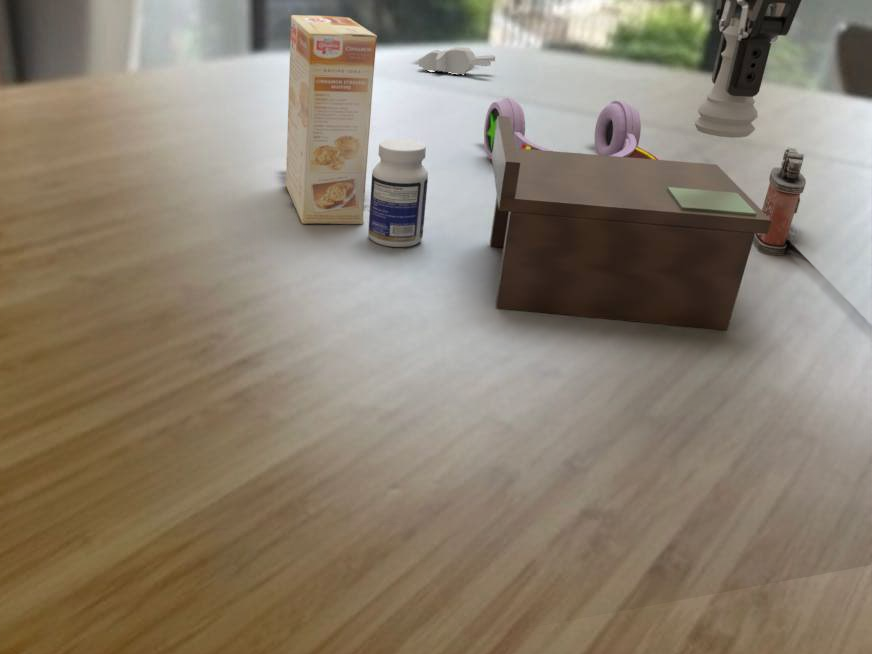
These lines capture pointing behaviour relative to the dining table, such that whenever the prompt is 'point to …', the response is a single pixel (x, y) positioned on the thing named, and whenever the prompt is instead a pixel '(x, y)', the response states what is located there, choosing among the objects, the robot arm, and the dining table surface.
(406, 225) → the pill bottle
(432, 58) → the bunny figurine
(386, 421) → the dining table surface
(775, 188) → the lighter
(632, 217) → the brown wooden desk
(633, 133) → the headphones
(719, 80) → the rook chess piece
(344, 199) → the coffeecake box
